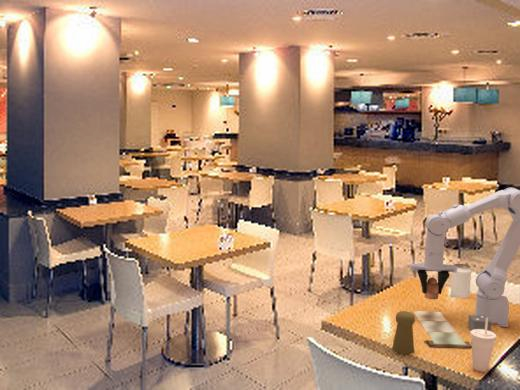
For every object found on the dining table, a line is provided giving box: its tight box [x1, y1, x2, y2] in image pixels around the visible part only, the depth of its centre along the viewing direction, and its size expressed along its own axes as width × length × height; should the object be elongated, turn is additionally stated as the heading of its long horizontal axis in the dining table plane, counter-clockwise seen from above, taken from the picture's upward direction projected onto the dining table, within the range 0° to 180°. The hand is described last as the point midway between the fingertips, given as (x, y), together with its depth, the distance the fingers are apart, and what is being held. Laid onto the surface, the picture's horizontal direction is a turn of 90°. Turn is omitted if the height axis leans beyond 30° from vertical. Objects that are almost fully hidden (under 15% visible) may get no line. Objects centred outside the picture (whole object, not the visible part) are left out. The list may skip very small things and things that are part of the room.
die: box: [467, 314, 492, 332], centre depth 168 cm, size 5×5×5 cm
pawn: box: [424, 277, 439, 300], centre depth 179 cm, size 4×4×6 cm
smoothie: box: [469, 318, 497, 373], centre depth 144 cm, size 6×6×14 cm
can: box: [450, 263, 472, 299], centre depth 201 cm, size 6×6×12 cm
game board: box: [413, 310, 472, 350], centre depth 171 cm, size 12×27×1 cm, turn 178°
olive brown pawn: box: [392, 310, 416, 355], centre depth 155 cm, size 6×6×11 cm
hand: (431, 292), depth 179 cm, fingers closed on pawn, 4 cm apart
